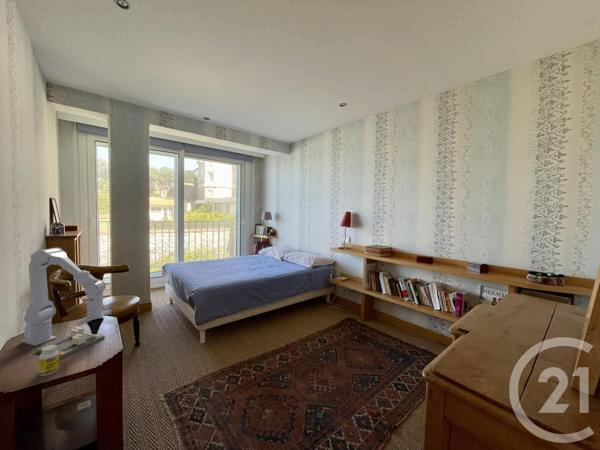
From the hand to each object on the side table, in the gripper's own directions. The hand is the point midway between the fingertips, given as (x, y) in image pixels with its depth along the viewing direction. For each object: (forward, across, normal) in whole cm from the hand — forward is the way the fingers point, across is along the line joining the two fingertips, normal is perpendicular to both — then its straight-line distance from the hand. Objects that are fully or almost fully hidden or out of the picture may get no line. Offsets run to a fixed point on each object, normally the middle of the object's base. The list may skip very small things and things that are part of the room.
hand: (94, 333), depth 120 cm
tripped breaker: (+1, -7, 0) cm, 7 cm away
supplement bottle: (+3, -23, -8) cm, 25 cm away
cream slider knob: (+1, -2, +8) cm, 8 cm away
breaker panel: (+3, -7, +4) cm, 8 cm away
